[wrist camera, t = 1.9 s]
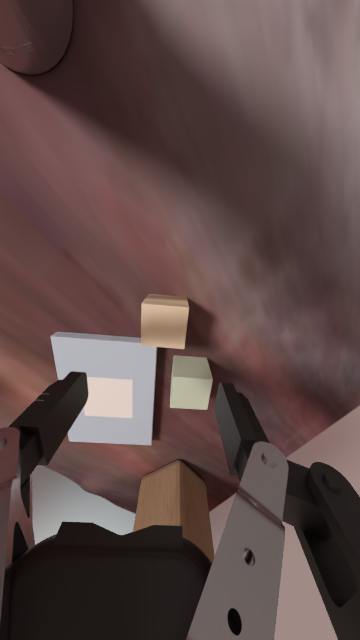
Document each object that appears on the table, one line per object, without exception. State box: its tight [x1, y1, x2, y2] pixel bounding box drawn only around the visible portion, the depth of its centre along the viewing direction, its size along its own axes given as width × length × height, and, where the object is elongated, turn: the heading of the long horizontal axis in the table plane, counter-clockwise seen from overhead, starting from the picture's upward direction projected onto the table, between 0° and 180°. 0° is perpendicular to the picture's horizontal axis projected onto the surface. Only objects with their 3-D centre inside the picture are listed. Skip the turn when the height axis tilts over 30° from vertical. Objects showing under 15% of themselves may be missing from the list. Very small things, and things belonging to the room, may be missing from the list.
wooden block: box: [133, 460, 214, 563], centre depth 27 cm, size 10×10×20 cm
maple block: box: [141, 294, 189, 349], centre depth 22 cm, size 5×5×5 cm
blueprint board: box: [51, 332, 157, 445], centre depth 28 cm, size 20×14×2 cm
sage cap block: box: [170, 355, 213, 410], centre depth 25 cm, size 5×5×5 cm
